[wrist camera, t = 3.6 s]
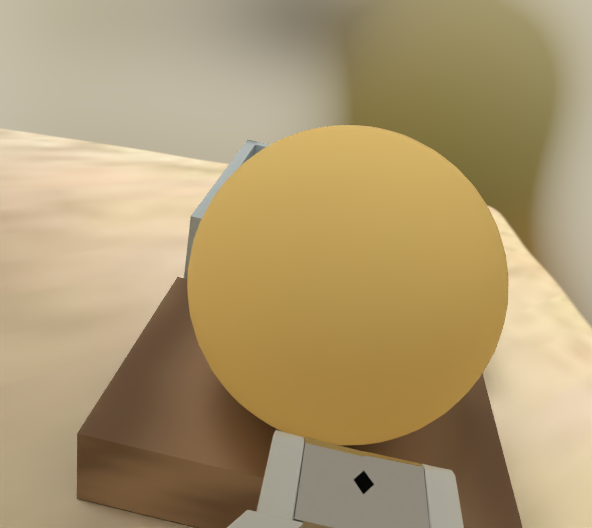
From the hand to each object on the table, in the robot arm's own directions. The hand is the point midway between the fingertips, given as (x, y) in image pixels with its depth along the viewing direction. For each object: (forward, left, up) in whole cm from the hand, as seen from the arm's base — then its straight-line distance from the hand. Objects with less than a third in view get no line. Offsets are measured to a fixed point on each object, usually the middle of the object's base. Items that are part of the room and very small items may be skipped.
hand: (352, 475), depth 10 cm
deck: (0, +10, -10) cm, 14 cm away
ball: (0, +9, -2) cm, 9 cm away
